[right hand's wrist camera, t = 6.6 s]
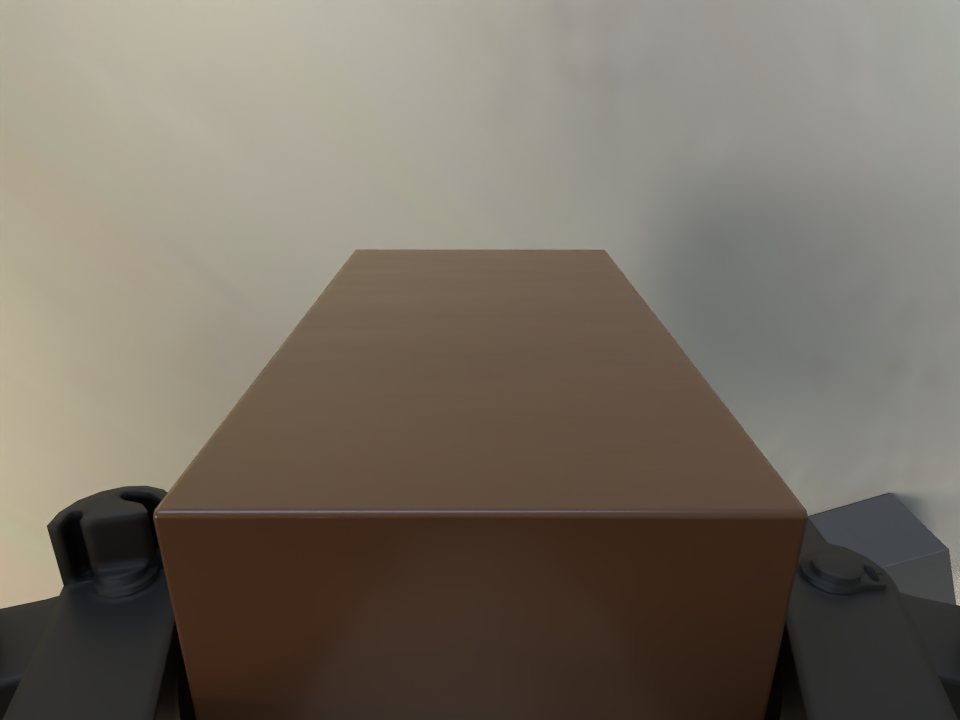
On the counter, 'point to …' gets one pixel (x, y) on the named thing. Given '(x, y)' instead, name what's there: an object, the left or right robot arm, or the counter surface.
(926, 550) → the slate block
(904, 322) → the counter surface
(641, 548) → the bar
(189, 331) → the counter surface
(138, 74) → the counter surface
